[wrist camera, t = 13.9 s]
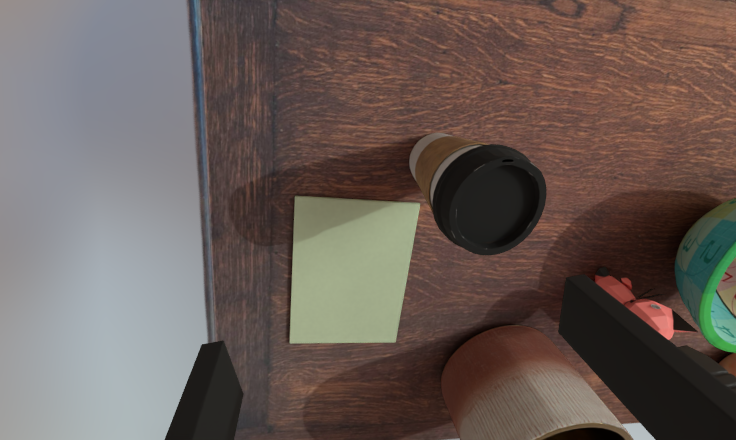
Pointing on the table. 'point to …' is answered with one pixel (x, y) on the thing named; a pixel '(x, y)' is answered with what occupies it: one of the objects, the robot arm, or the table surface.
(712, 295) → the bowl
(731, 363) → the pumpkin
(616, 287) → the cat figurine
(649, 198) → the table surface
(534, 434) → the planter
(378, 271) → the sage mat
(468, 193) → the coffee cup
